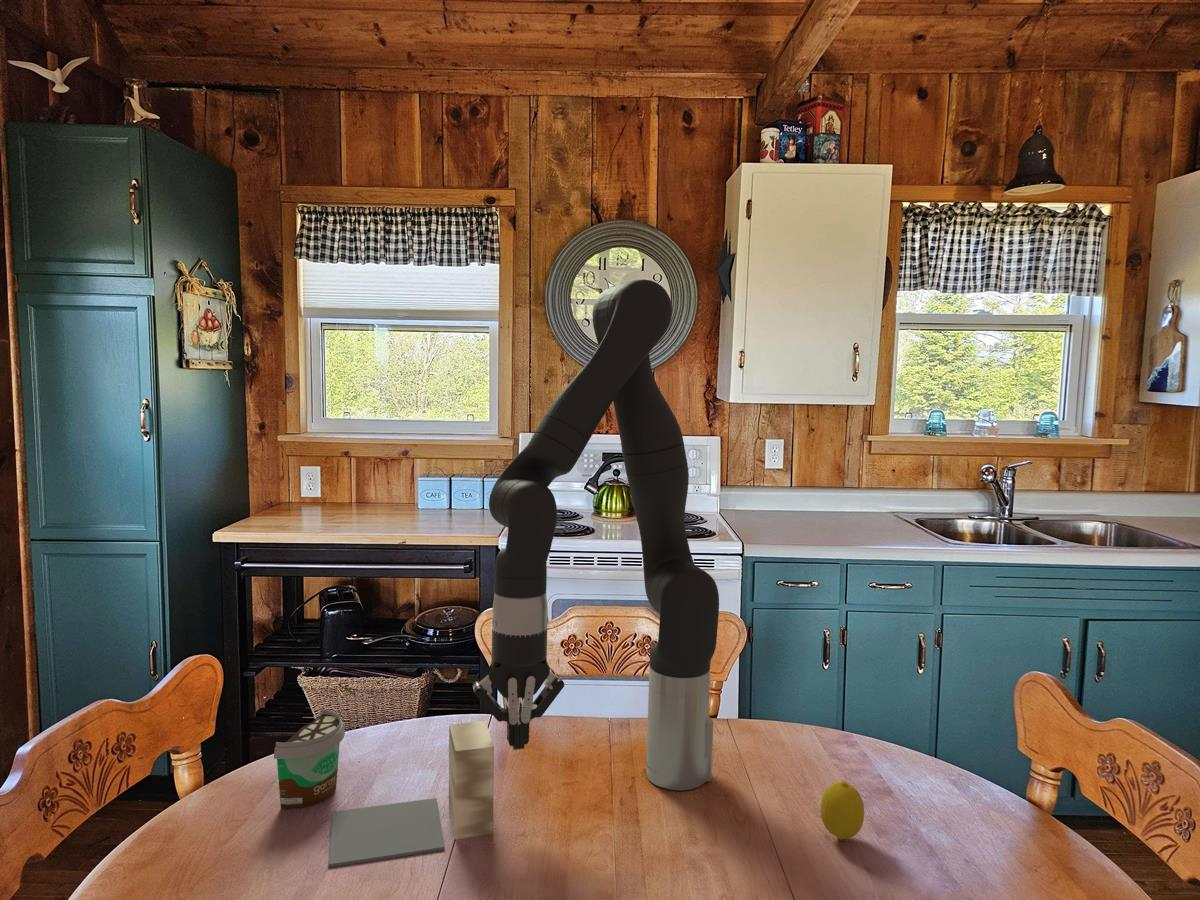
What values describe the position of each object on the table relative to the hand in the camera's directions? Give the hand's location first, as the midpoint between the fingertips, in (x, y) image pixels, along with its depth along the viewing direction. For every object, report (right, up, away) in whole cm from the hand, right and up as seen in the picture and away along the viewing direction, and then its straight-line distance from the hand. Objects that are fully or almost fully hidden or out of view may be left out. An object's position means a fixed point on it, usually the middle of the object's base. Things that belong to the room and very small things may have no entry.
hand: (517, 746), depth 106 cm
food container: (-29, -9, +5) cm, 31 cm away
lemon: (+44, -11, -4) cm, 45 cm away
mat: (-17, -10, -4) cm, 20 cm away
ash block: (-6, -10, -1) cm, 12 cm away
